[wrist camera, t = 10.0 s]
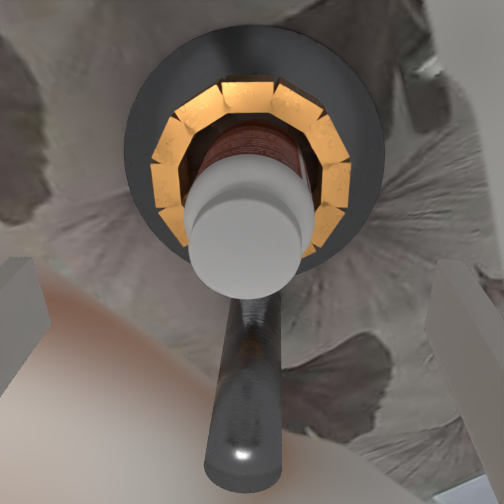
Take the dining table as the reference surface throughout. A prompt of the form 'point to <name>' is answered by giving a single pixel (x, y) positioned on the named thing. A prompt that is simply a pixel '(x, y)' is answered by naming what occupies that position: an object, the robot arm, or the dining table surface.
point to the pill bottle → (249, 211)
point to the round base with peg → (321, 184)
